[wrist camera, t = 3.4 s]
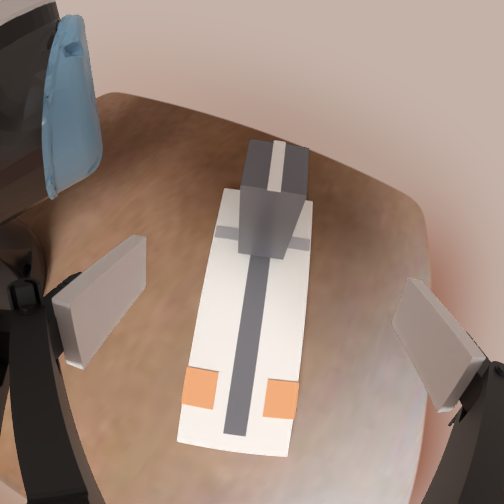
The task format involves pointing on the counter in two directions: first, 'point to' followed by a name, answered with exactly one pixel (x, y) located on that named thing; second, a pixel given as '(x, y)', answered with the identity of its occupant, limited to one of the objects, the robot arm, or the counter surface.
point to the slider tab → (271, 197)
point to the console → (247, 342)
